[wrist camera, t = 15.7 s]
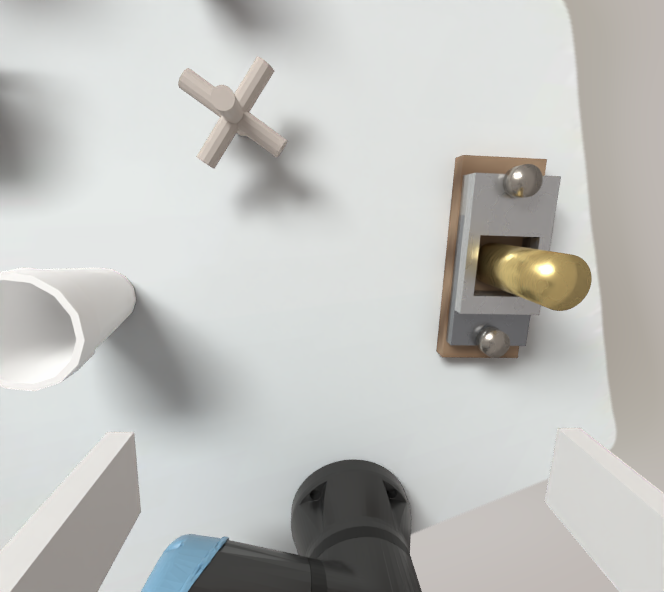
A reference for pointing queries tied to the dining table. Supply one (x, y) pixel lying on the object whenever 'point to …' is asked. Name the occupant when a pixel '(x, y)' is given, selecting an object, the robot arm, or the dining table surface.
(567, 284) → the brass pin
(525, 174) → the grey slotted fixture
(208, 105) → the pipe connector
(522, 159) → the walnut board
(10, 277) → the foam cup
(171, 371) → the dining table surface
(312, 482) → the robot arm
